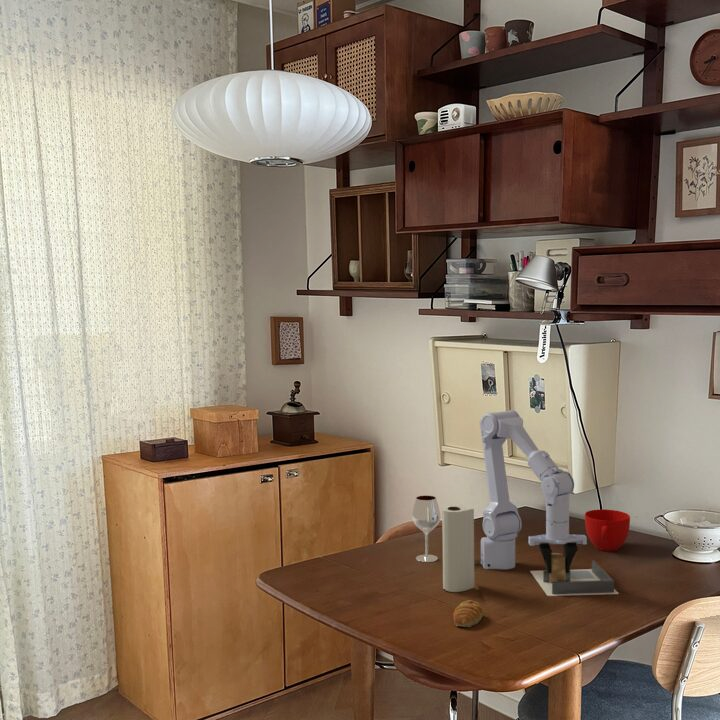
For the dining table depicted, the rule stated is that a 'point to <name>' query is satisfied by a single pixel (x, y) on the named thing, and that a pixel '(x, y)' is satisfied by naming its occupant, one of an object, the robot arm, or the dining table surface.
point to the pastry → (468, 614)
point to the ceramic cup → (607, 528)
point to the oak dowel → (557, 568)
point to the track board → (574, 576)
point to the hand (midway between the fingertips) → (557, 571)
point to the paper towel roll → (458, 548)
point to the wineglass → (426, 521)
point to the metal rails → (583, 583)
